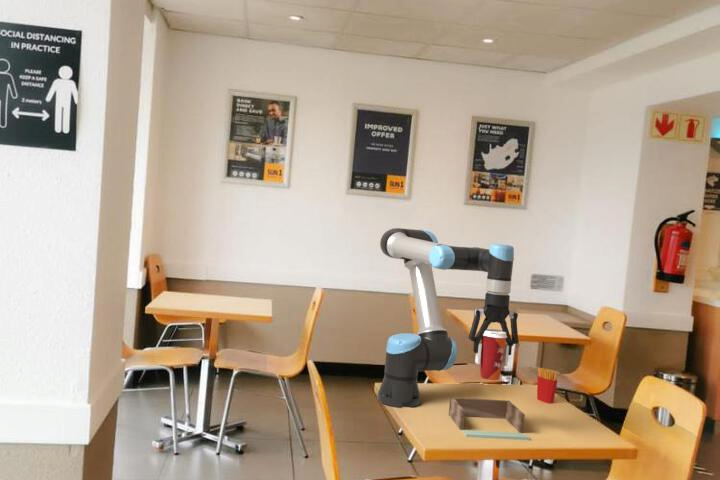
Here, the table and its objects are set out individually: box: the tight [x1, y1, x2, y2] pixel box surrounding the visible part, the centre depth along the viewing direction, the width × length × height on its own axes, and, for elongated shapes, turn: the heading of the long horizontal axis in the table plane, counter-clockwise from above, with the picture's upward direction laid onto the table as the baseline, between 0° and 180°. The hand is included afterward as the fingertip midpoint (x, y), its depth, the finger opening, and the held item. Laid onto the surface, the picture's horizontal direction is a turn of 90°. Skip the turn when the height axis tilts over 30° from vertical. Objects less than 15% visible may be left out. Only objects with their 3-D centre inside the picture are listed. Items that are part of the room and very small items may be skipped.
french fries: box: [536, 367, 558, 404], centre depth 233 cm, size 8×4×12 cm, turn 32°
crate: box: [448, 396, 525, 434], centre depth 195 cm, size 14×20×7 cm
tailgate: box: [460, 429, 531, 441], centre depth 185 cm, size 1×20×6 cm
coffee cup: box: [479, 328, 507, 381], centre depth 194 cm, size 8×8×15 cm
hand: (491, 364), depth 194 cm, fingers closed on coffee cup, 8 cm apart
